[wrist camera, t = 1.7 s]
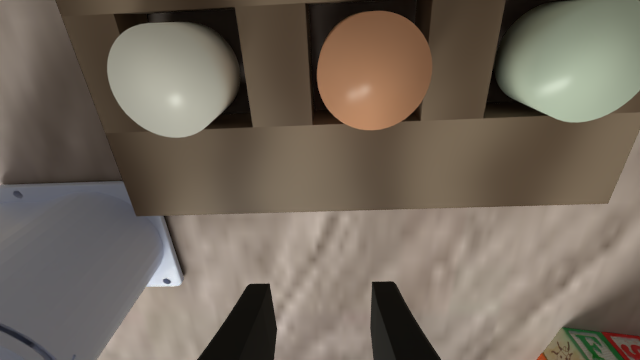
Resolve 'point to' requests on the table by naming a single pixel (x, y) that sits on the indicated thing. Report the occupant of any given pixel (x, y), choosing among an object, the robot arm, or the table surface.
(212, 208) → the panel
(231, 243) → the table surface
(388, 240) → the table surface
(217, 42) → the cream button
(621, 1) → the sage button
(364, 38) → the terracotta button
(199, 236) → the table surface
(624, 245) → the table surface
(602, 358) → the stack of blocks
